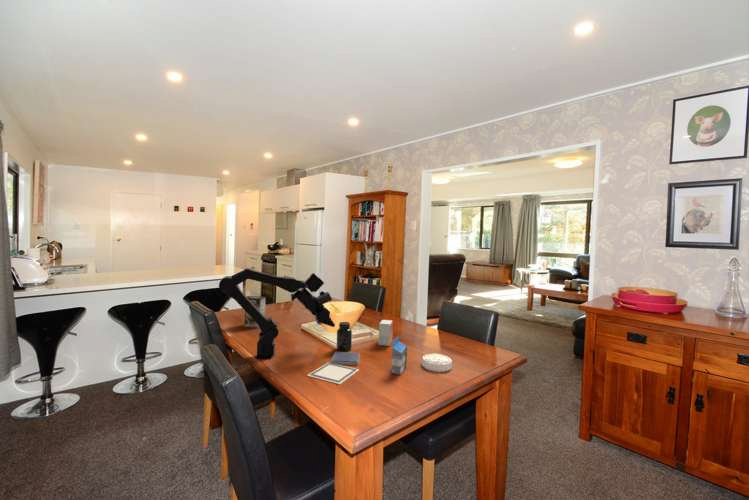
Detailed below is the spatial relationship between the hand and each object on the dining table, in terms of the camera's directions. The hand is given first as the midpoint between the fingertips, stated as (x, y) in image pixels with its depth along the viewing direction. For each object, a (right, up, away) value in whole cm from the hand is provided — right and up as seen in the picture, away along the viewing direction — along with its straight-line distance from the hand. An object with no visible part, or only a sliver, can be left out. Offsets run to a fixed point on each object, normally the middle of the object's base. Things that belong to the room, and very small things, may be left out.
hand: (332, 323), depth 147 cm
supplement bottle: (+5, -12, +3) cm, 14 cm away
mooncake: (+44, -15, -13) cm, 49 cm away
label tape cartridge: (+29, -14, -19) cm, 37 cm away
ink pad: (+7, -13, -10) cm, 18 cm away
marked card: (+4, -13, -24) cm, 28 cm away
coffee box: (-47, -9, +35) cm, 60 cm away
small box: (+24, -13, +13) cm, 30 cm away
